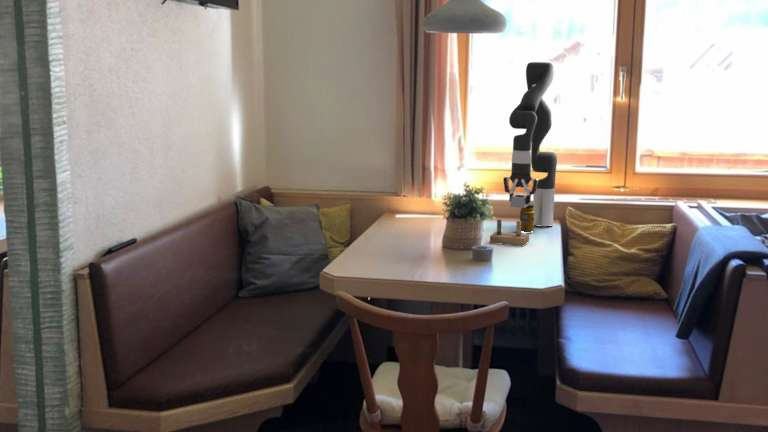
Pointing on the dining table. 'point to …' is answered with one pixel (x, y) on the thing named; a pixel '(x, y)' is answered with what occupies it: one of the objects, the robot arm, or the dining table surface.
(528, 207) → the condiment
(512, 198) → the link
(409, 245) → the dining table surface
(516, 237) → the keeper
